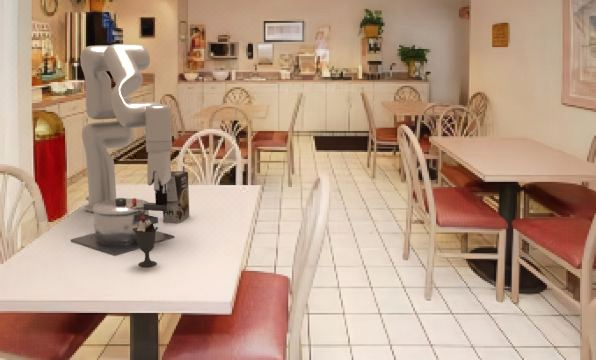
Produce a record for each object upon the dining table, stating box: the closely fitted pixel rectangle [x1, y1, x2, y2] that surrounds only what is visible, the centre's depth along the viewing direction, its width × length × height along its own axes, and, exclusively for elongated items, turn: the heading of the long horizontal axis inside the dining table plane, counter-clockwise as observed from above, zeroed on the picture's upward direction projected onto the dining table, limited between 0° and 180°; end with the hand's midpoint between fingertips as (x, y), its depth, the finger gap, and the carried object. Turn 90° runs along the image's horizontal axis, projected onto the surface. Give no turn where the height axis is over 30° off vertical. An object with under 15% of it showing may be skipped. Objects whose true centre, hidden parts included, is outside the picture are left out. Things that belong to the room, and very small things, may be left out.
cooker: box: [70, 210, 175, 256], centre depth 188 cm, size 26×22×10 cm
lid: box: [92, 197, 170, 215], centre depth 187 cm, size 24×16×3 cm
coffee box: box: [162, 170, 190, 224], centre depth 212 cm, size 9×6×16 cm
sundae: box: [133, 210, 159, 268], centre depth 167 cm, size 7×7×15 cm
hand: (161, 205), depth 188 cm, fingers closed
